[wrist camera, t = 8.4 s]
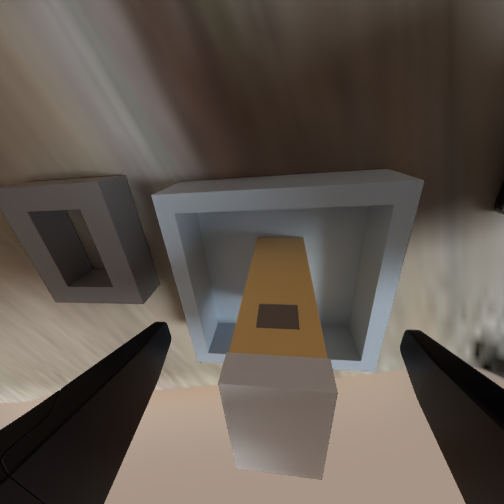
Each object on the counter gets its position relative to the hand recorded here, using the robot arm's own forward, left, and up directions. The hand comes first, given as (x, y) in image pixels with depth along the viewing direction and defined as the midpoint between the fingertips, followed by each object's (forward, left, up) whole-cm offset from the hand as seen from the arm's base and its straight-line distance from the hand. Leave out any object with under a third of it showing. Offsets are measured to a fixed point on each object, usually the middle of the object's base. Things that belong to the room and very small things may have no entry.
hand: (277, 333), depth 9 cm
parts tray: (0, 0, -5) cm, 5 cm away
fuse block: (+11, -2, -5) cm, 12 cm away
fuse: (0, 0, -5) cm, 5 cm away
